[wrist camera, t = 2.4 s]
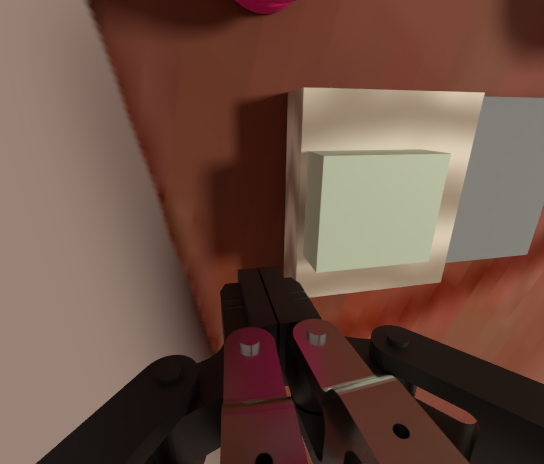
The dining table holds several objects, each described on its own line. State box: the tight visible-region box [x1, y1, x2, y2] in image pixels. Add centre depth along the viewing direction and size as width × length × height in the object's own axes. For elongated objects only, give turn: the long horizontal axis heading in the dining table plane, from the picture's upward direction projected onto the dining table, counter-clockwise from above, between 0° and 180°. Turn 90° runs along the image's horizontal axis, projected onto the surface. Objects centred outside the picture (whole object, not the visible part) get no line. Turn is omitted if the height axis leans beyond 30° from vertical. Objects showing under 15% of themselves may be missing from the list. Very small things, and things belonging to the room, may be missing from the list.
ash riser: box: [284, 88, 485, 297], centre depth 26 cm, size 16×14×4 cm
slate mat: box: [445, 97, 544, 263], centre depth 30 cm, size 16×14×1 cm
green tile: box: [303, 149, 451, 273], centre depth 22 cm, size 8×9×3 cm
